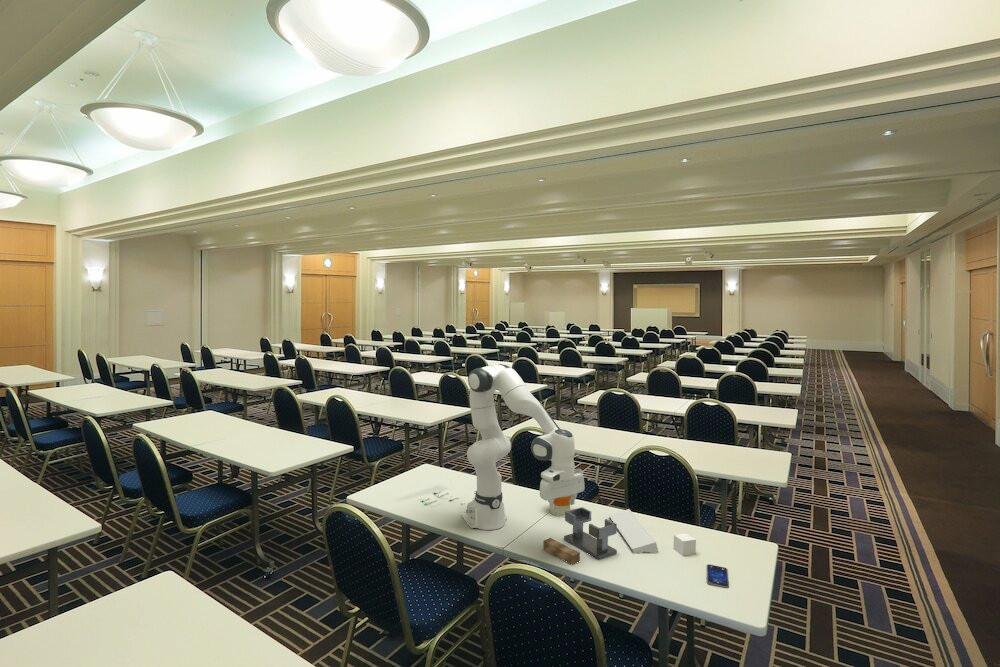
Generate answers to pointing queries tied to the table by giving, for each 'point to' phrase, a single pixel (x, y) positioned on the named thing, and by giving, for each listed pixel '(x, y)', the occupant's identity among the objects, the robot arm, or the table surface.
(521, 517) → the table surface
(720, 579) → the smartphone
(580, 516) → the bracket stand
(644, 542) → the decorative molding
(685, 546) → the white cube
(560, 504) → the reusable coffee cup
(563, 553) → the rail
